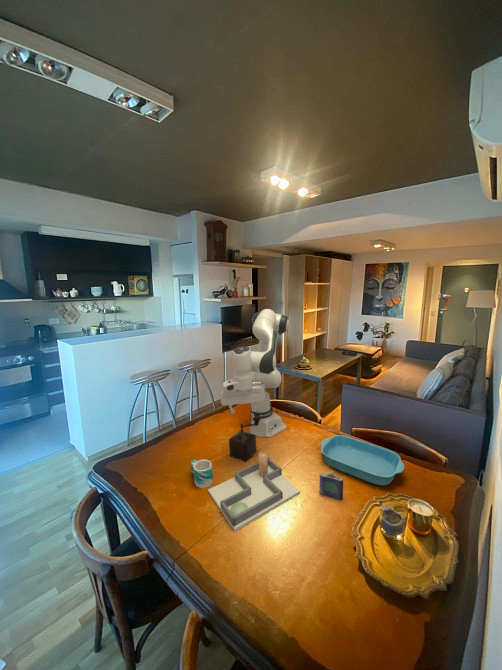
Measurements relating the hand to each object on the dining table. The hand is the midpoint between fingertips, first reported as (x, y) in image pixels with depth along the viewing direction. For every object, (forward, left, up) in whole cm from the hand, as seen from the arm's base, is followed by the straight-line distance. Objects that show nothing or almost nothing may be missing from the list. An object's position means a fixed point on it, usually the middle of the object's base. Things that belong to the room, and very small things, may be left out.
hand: (243, 412), depth 124 cm
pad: (+16, +21, -27) cm, 38 cm away
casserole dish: (-44, +30, -29) cm, 61 cm away
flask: (-19, +35, -29) cm, 49 cm away
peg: (-3, +10, -27) cm, 29 cm away
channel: (+6, +15, -28) cm, 33 cm away
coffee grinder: (-7, -11, -29) cm, 32 cm away
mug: (+21, -5, -29) cm, 36 cm away
